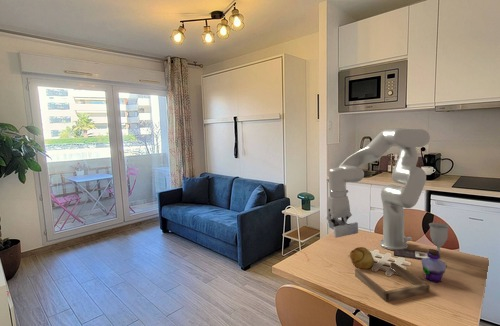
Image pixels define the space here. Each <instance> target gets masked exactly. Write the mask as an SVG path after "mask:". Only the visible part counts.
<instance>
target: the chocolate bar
mask: <svg viewBox="0 0 500 326" xmlns="http://www.w3.org/2000/svg"><path fill="white" fill-rule="evenodd" d="M427 252H428V251H422V250H416V249H409V248H407V249H404V250H393V256H394V257H397V258H398V257H399V258H405V259H413V260H418V261H419V260H420V261H422V260H421V259H423V258H429V257H428V256H427Z"/></svg>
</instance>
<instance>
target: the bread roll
mask: <svg viewBox="0 0 500 326" xmlns="http://www.w3.org/2000/svg"><path fill="white" fill-rule="evenodd" d="M349 256H350V259H351V263H352V264H353V266H354V267H356V269H361V270H362V269H363V270H365V269H371V267H373V266H374V263H375V260H374V257H373V254H372V252H371V250H369V249H367V248H366V247H362V246H361V247H360V246H357V247H355V248H354V249H352V250H351V251H350V252H349Z"/></svg>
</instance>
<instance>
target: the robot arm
mask: <svg viewBox="0 0 500 326" xmlns="http://www.w3.org/2000/svg"><path fill="white" fill-rule="evenodd" d="M430 139H431V136H430V133H429V132H428V131H427V130H425V129H424V128H422V129H421V128H385V129H383V130H382V131H380V132H379V133H378V134H377V135H376V136H374V138H373V139H372V140H371V141H370V142H369V143H368V144H367V145H366V146H365V147H363V148H361V149H360V150H357V151H356V152H355V153H352V154H351V155H349V156H348V157H346V159H344V161H343V162H342V163H340V164H339V166H338V167H331V168H330V169H328V185H329V196H328V197H327V203H326V204H327V205H326V214H327V215H326V220H327V221H328V222H329V221H331V222H332V223H333V226H338V224H337V222H338V219H340V220H341V221H343V222H345V223H347V222H348V219H349V218H351V217H352V216H353V214H352V213H351V207H350V206H351V205H350V200H349V197H348V195H347V194H348V193H349V190H348V189H347V183H359V182H361V181H362V180H363V179H364V176H365V172H364V170H363V169H362V168H360V166H363V165H365V164H369V163H373V162H376V161H379V160H380V159H381V158H382V157H383V156H384V155H385V154H386V153H387V152H388V151H389V150H390V149H391V148H392V147H398V150H399V154H398V158H397V161H396V163H395V166H394V168H393V170H392V174H391V180H392V181H393V182H394V183H396V184H400V185H404V186H400V185H396V184H387V185H385V186H384V187H383V188H382V189H381V193H380V199H381V202H382V212H383V213H382V215H383V216H382V218H383V219H382V220H383V221H382V228H383V229H382V235H383V237H382V238H383V239H381V240H380V241H379V245H380V246H381V247H382V248H384V249H386V250H390V251H394V250H404V249H409V248H408V244H407V242H411V241H413V238H412V237H411V236H407V237H406V236H405V209H412V208H413V207H415V206H416V204H418V201H419V200H420V197H421V195H422V193H423V190H424V188H425V185H426V182H427V174H426V171H425V170H424V169H423V168H422V167H418V166H417V164H418V160H419V154H418V153H419V152H418V151H417V148H423V147H425V146H426V145H428V144H429V142H430ZM331 217H332V219H331Z"/></svg>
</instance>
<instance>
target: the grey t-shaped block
mask: <svg viewBox="0 0 500 326" xmlns="http://www.w3.org/2000/svg"><path fill="white" fill-rule="evenodd" d="M331 219H332V217H331ZM337 224H338V226H333V223H332V222H331V221H329V220H328V227H329V228H330V229H332V230H333V237H334V238H336V239H337V238H342V237H346V236H350V235H356V234H359V223H358V222H357V221H356V222H351V223H347V222H346V223H345V222H343V221H341V218H338V222H337Z"/></svg>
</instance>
